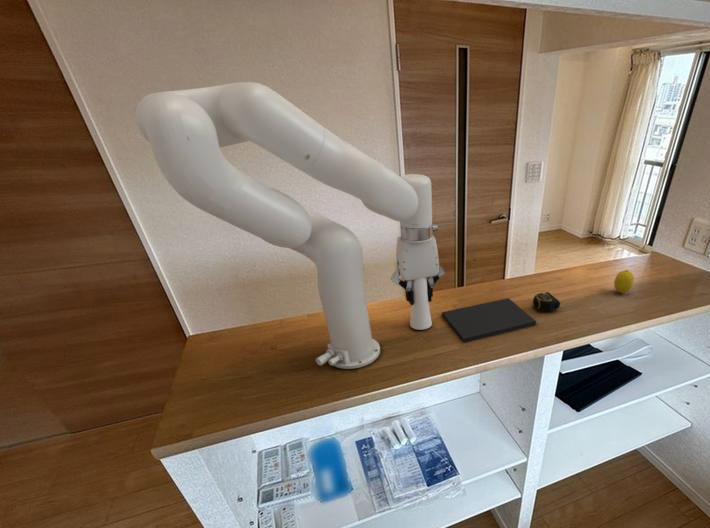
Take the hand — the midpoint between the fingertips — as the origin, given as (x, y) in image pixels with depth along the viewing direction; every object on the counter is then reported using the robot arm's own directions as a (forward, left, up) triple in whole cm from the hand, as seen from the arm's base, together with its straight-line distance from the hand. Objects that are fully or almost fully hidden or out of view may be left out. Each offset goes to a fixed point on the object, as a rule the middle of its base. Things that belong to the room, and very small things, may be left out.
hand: (419, 300), depth 98 cm
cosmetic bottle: (0, 0, -8) cm, 8 cm away
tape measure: (+29, -25, -8) cm, 39 cm away
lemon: (+51, -42, -8) cm, 66 cm away
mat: (+13, -14, -8) cm, 20 cm away
